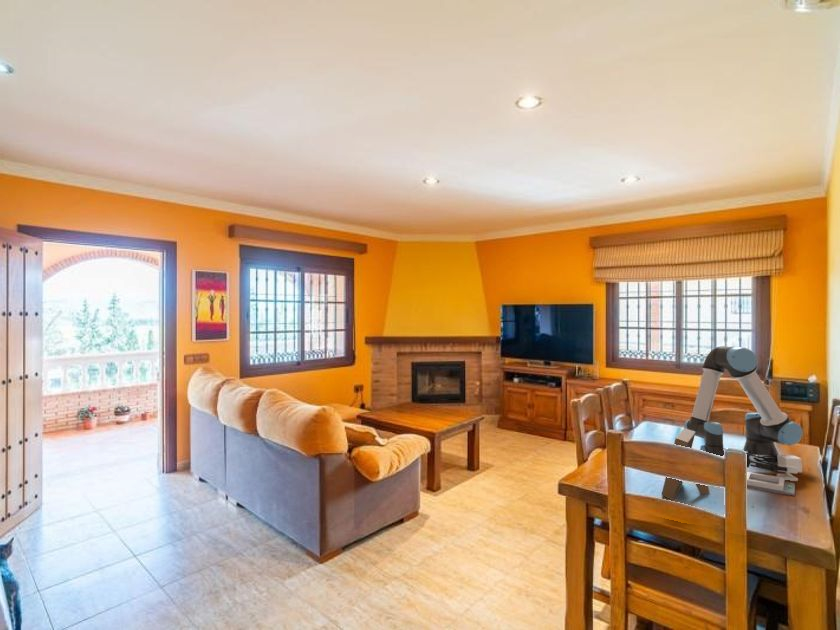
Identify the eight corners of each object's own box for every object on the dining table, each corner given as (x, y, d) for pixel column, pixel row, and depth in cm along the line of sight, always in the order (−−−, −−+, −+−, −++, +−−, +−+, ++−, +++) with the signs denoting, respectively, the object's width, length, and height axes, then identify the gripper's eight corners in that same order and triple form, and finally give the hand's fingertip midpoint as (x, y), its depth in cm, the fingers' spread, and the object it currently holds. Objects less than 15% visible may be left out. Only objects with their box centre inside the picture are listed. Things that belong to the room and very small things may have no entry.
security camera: (802, 481, 192) (801, 458, 192) (784, 480, 193) (783, 458, 194) (793, 476, 198) (792, 454, 198) (776, 476, 199) (775, 454, 200)
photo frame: (661, 497, 178) (659, 436, 178) (671, 482, 194) (669, 426, 195) (704, 506, 168) (702, 441, 169) (710, 489, 185) (709, 431, 186)
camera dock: (737, 476, 200) (737, 469, 200) (794, 485, 187) (794, 478, 187) (734, 485, 189) (733, 478, 189) (794, 496, 176) (794, 488, 176)
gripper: (742, 459, 217) (798, 468, 203) (736, 472, 198) (797, 482, 184) (741, 444, 217) (797, 451, 203) (735, 456, 199) (796, 465, 185)
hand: (797, 466), depth 194 cm, fingers open, 13 cm apart
